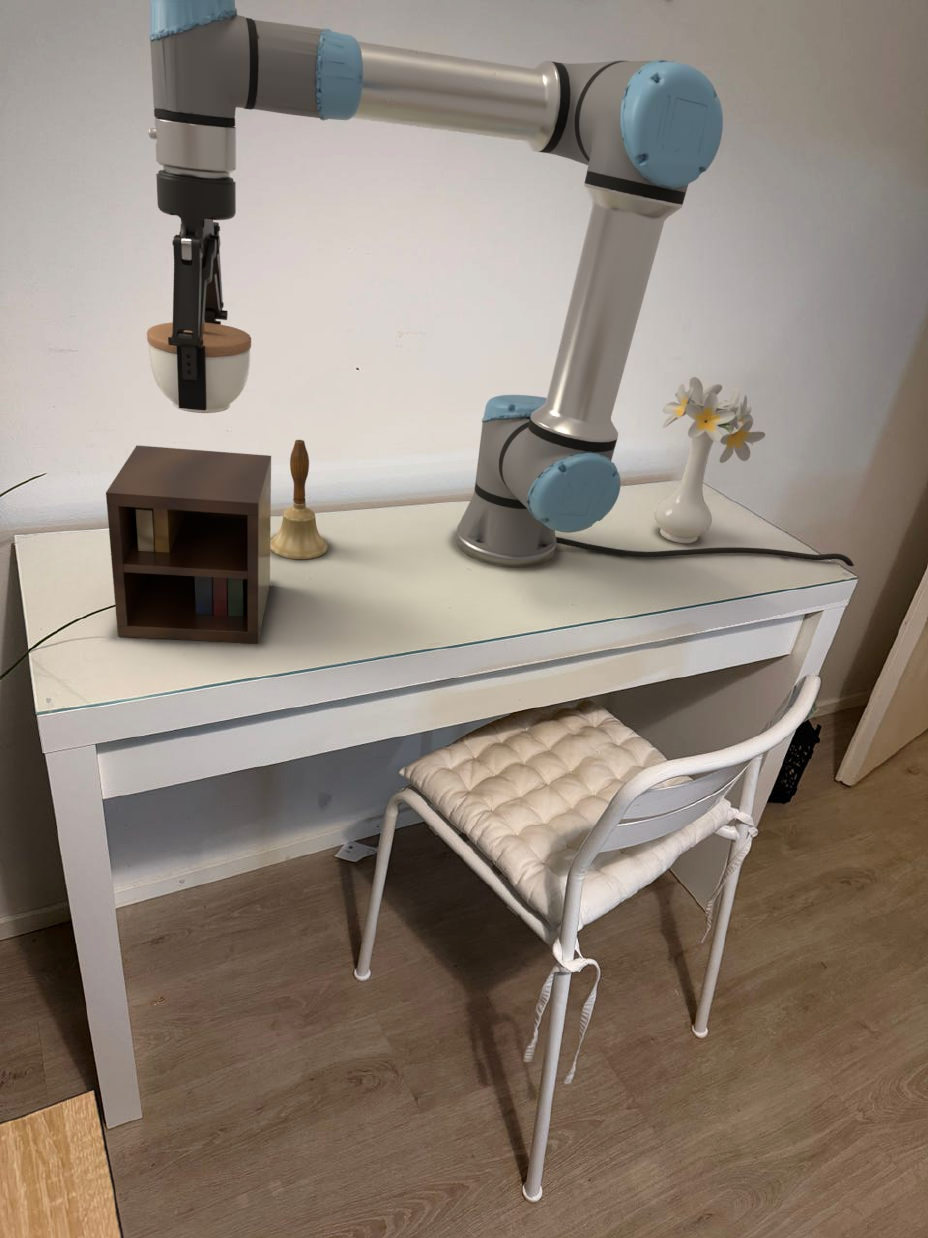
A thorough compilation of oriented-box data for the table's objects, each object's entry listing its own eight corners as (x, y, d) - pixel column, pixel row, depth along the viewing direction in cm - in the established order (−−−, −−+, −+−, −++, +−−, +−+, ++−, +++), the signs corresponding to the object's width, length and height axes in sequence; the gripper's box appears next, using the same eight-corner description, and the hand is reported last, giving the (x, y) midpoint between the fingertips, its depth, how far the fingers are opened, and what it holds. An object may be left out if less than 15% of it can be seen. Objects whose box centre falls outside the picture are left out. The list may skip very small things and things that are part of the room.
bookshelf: (269, 584, 121) (271, 455, 113) (258, 643, 109) (258, 503, 100) (144, 577, 119) (136, 445, 110) (117, 636, 106) (105, 492, 98)
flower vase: (691, 566, 142) (733, 409, 130) (617, 519, 155) (649, 372, 143) (750, 556, 148) (796, 405, 136) (674, 511, 162) (709, 370, 149)
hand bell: (289, 564, 127) (292, 455, 119) (258, 541, 132) (258, 435, 124) (338, 552, 132) (344, 446, 124) (307, 530, 137) (310, 427, 129)
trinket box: (226, 426, 96) (225, 335, 91) (131, 409, 97) (126, 318, 93) (266, 400, 105) (266, 316, 101) (178, 384, 107) (175, 301, 102)
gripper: (178, 158, 99) (184, 362, 110) (130, 176, 79) (143, 422, 90) (248, 167, 100) (248, 367, 111) (218, 187, 80) (221, 429, 91)
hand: (201, 392), depth 101 cm, fingers closed on trinket box, 11 cm apart
